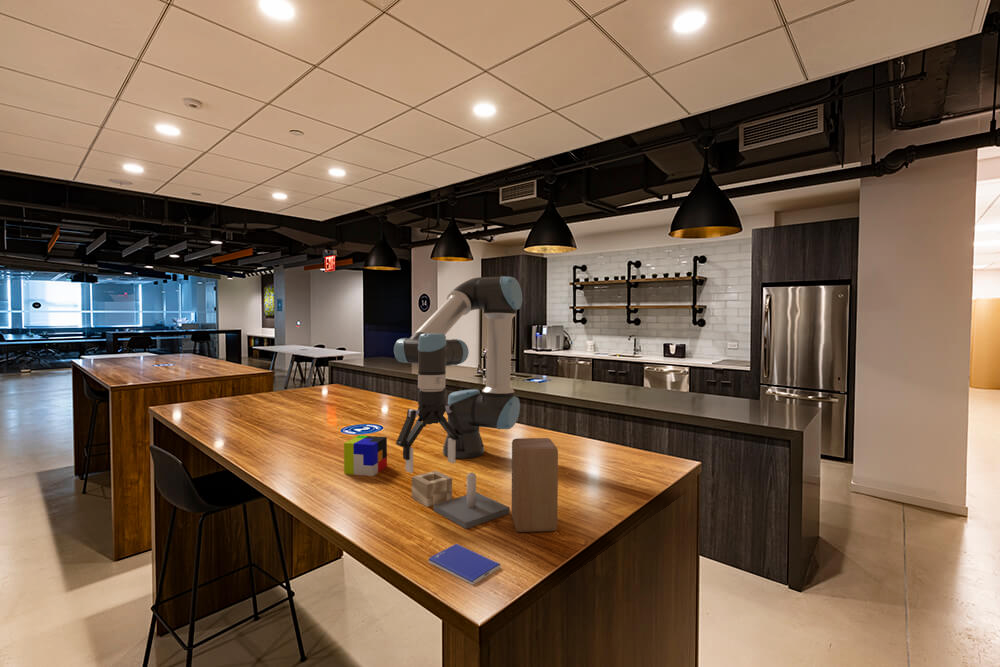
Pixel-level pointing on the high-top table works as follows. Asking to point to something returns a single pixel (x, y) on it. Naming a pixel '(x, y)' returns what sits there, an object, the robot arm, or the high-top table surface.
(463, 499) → the post board
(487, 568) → the hard drive
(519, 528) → the wooden block
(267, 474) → the high-top table surface
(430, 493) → the maple bead
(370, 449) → the puzzle toy
